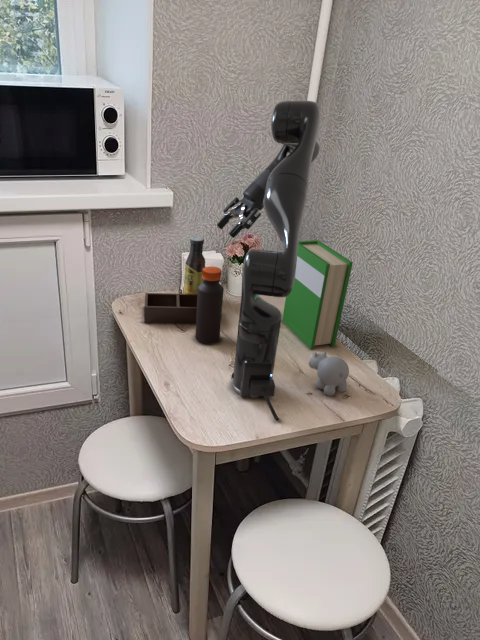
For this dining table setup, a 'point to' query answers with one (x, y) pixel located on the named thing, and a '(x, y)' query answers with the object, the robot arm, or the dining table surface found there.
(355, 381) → the dining table surface
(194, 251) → the sauce bottle
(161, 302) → the divided storage box
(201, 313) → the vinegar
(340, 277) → the hardback book
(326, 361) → the round bodied animal figurine
